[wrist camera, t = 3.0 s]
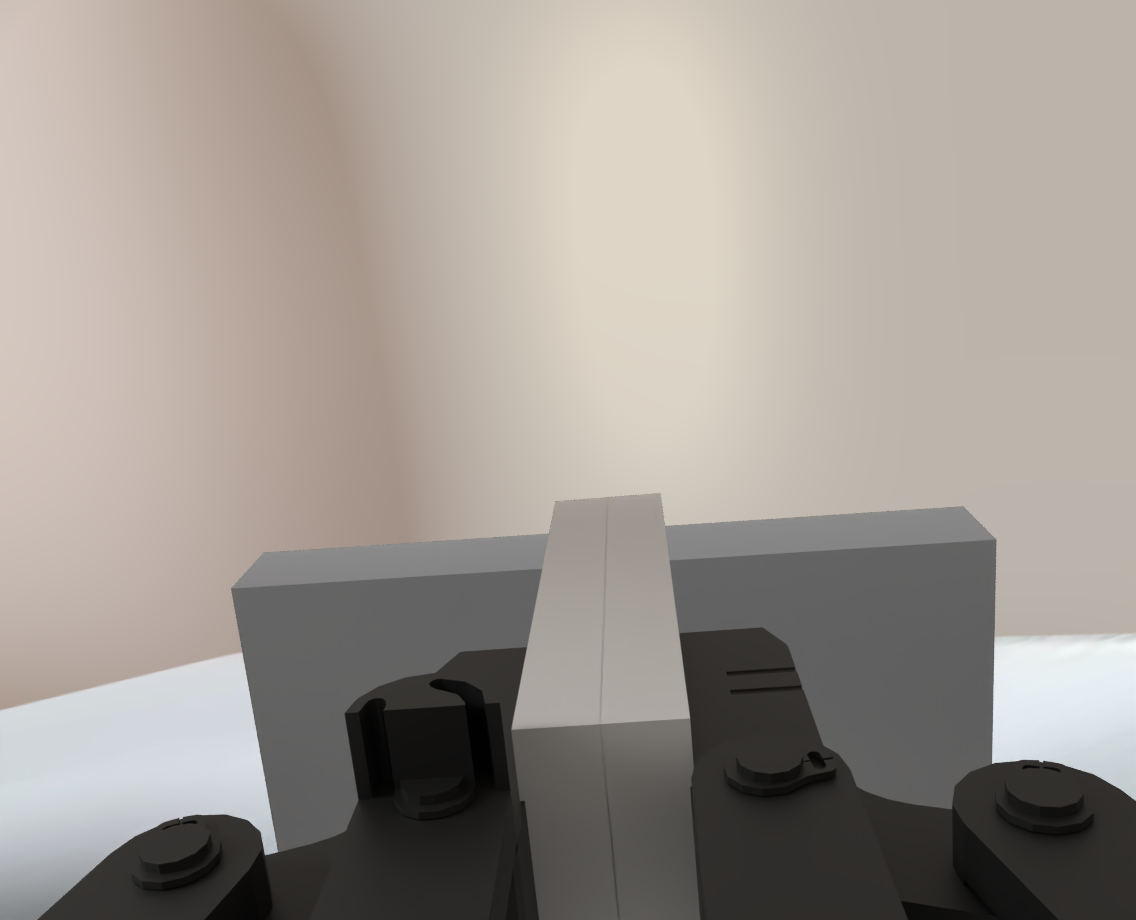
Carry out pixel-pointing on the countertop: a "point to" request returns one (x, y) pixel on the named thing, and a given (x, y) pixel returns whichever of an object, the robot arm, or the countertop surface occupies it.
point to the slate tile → (703, 603)
